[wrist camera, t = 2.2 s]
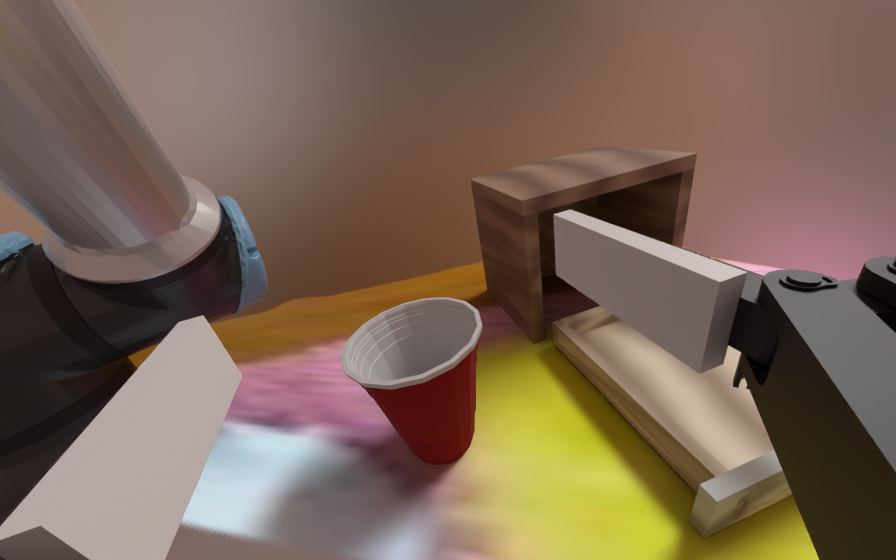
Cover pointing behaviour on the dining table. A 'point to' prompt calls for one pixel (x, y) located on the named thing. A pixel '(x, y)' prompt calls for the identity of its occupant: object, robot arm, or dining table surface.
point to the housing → (579, 189)
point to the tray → (681, 416)
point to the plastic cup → (421, 372)
